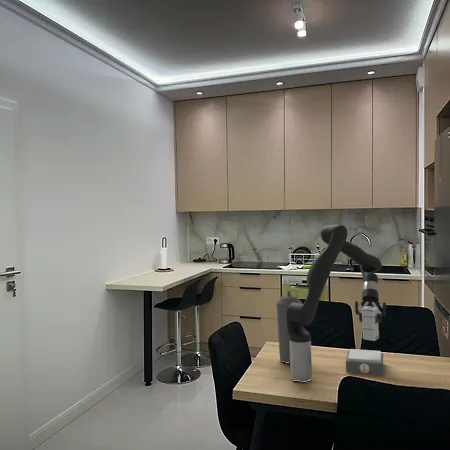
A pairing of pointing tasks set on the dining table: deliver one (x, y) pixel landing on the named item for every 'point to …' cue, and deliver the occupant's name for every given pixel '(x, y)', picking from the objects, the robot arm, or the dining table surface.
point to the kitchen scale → (365, 362)
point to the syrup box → (370, 323)
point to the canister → (284, 325)
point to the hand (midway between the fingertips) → (370, 322)
